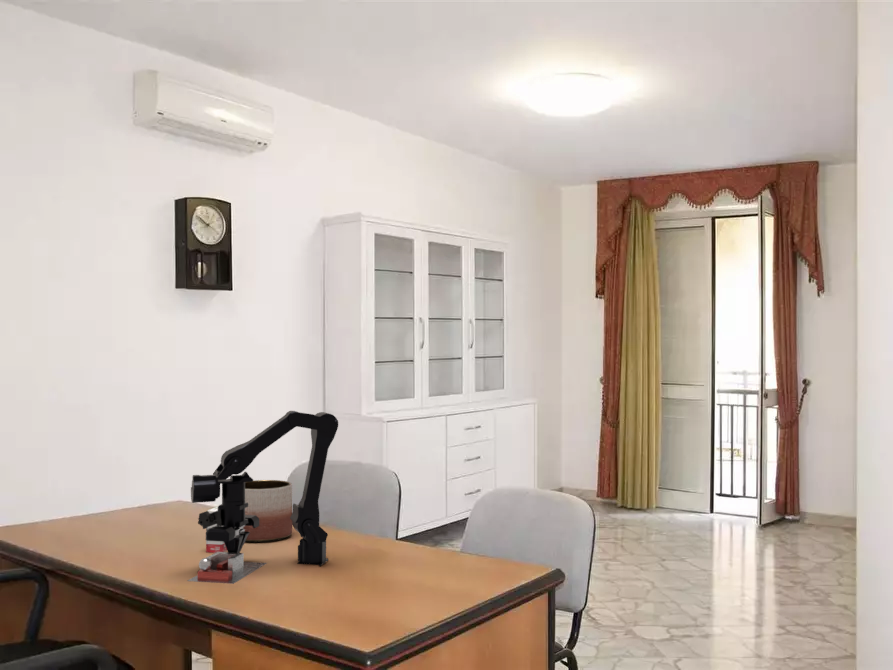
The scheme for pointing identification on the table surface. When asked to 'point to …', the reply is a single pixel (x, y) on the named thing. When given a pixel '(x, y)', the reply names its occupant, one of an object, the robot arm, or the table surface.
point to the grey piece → (222, 572)
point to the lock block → (233, 560)
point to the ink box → (214, 545)
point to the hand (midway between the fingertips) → (233, 561)
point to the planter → (269, 509)
